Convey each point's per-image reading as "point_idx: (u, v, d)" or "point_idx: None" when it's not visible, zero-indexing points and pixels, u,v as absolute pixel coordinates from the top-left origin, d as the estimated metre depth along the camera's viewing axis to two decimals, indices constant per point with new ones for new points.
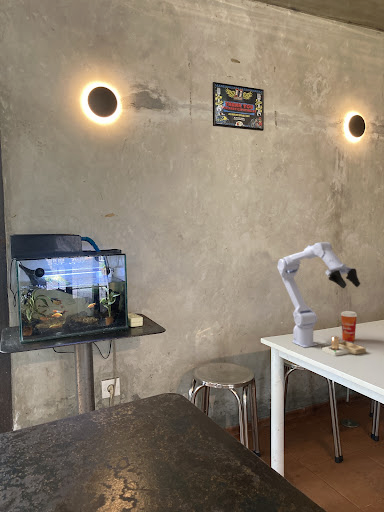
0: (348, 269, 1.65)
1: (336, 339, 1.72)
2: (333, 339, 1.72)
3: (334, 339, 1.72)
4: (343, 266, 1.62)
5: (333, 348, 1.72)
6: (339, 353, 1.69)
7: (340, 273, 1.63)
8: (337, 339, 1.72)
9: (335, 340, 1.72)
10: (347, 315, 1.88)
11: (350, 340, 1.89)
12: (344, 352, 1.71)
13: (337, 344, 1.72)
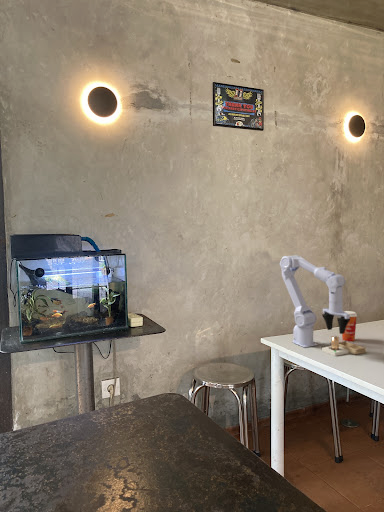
0: None
1: (336, 339, 1.72)
2: (333, 339, 1.72)
3: (334, 339, 1.72)
4: None
5: (333, 348, 1.72)
6: (339, 353, 1.69)
7: (336, 315, 1.72)
8: (337, 339, 1.72)
9: (335, 340, 1.72)
10: None
11: (350, 340, 1.89)
12: (344, 352, 1.71)
13: (337, 344, 1.72)
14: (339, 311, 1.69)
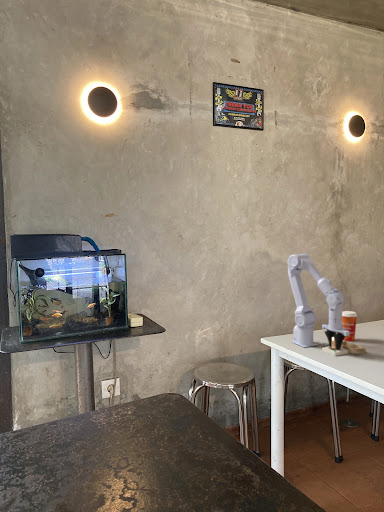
0: None
1: None
2: (333, 339, 1.72)
3: (334, 339, 1.72)
4: None
5: (333, 348, 1.72)
6: (339, 353, 1.69)
7: (335, 332, 1.72)
8: None
9: None
10: (347, 315, 1.88)
11: (350, 340, 1.89)
12: (344, 352, 1.71)
13: None
14: (339, 328, 1.70)
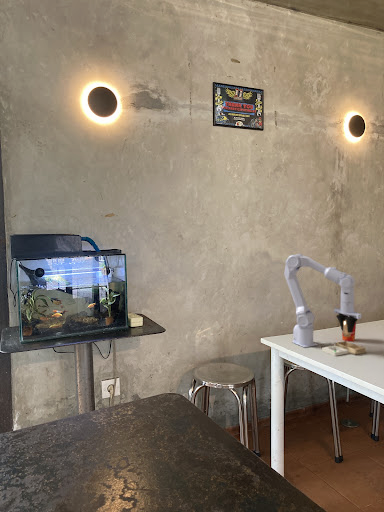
0: None
1: None
2: (345, 322, 1.73)
3: (346, 322, 1.73)
4: None
5: (345, 331, 1.74)
6: (339, 353, 1.69)
7: (347, 315, 1.74)
8: None
9: None
10: None
11: (350, 340, 1.89)
12: (344, 352, 1.71)
13: None
14: (351, 311, 1.71)
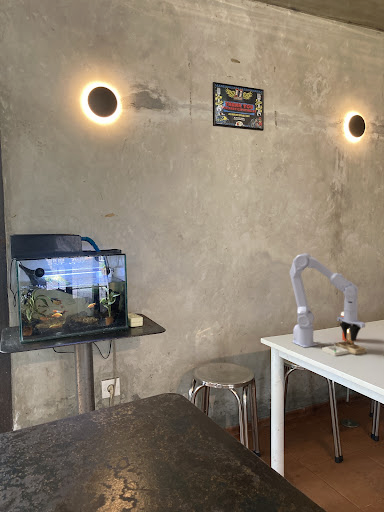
0: None
1: None
2: (348, 331, 1.74)
3: (349, 331, 1.74)
4: None
5: (348, 340, 1.75)
6: (339, 353, 1.69)
7: (351, 324, 1.75)
8: None
9: None
10: None
11: None
12: (344, 352, 1.71)
13: None
14: (354, 320, 1.72)
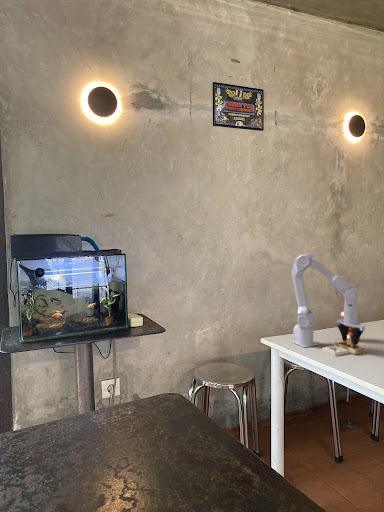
0: None
1: (351, 336, 1.74)
2: (348, 336, 1.75)
3: (349, 336, 1.74)
4: None
5: (348, 345, 1.75)
6: (339, 353, 1.69)
7: None
8: (352, 336, 1.74)
9: (351, 337, 1.74)
10: None
11: None
12: (344, 352, 1.71)
13: (352, 341, 1.74)
14: (354, 323, 1.72)
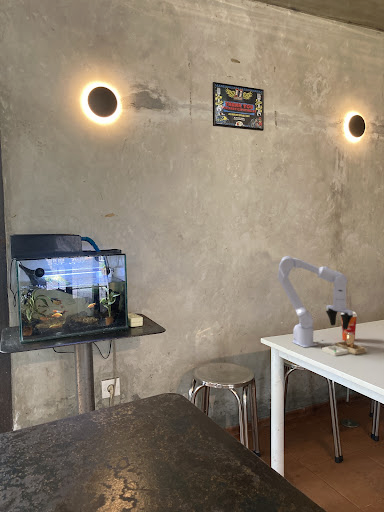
0: None
1: (351, 336, 1.74)
2: (348, 336, 1.75)
3: (349, 336, 1.74)
4: None
5: (348, 345, 1.75)
6: (339, 353, 1.69)
7: None
8: (352, 336, 1.74)
9: (351, 337, 1.74)
10: None
11: None
12: (344, 352, 1.71)
13: (352, 341, 1.74)
14: (343, 308, 1.78)
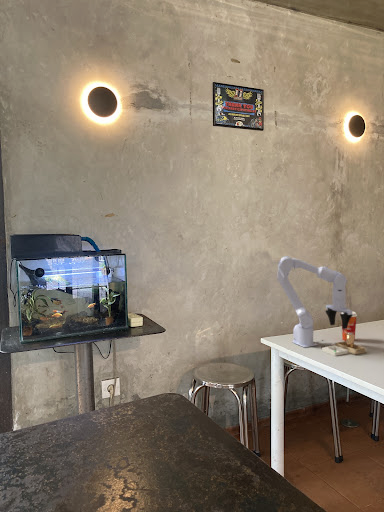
0: None
1: (351, 336, 1.74)
2: (348, 336, 1.75)
3: (349, 336, 1.74)
4: None
5: (348, 345, 1.75)
6: (339, 353, 1.69)
7: (339, 311, 1.81)
8: (352, 336, 1.74)
9: (351, 337, 1.74)
10: None
11: None
12: (344, 352, 1.71)
13: (352, 341, 1.74)
14: (342, 307, 1.78)
